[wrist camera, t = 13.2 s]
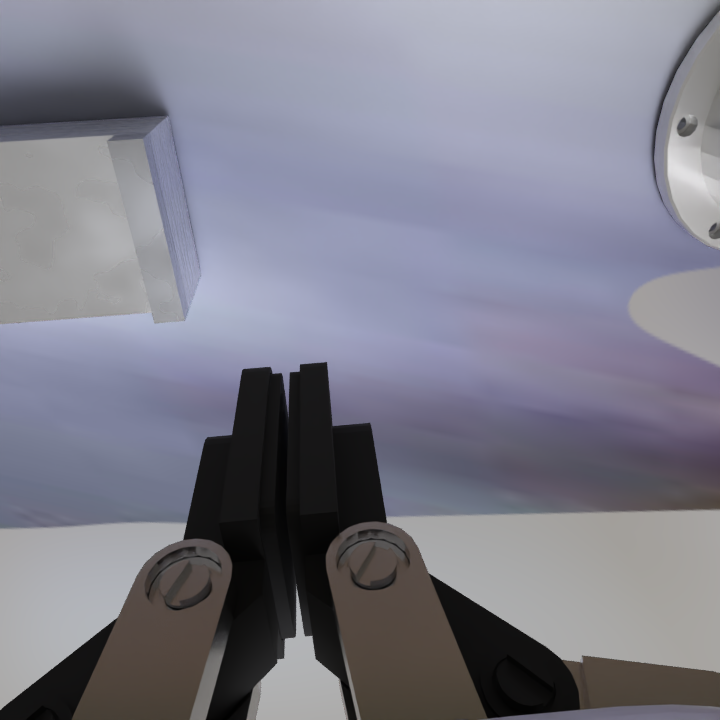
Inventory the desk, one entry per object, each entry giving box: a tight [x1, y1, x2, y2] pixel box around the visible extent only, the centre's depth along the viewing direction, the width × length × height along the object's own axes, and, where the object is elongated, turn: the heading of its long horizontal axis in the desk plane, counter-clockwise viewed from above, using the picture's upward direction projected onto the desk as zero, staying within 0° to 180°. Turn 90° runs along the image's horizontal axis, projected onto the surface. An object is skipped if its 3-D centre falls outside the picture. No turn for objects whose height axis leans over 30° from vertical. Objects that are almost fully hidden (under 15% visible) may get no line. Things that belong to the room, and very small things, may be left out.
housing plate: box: [0, 116, 201, 324], centre depth 23 cm, size 8×7×4 cm
